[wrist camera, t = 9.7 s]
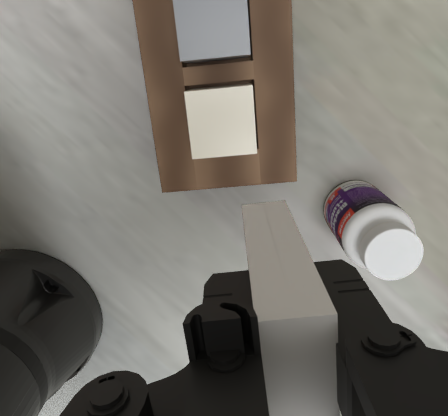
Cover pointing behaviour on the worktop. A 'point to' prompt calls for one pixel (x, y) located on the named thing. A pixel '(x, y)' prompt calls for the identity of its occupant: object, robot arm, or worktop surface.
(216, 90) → the cream cube
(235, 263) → the worktop surface
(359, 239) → the pill bottle
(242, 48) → the slate key
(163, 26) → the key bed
